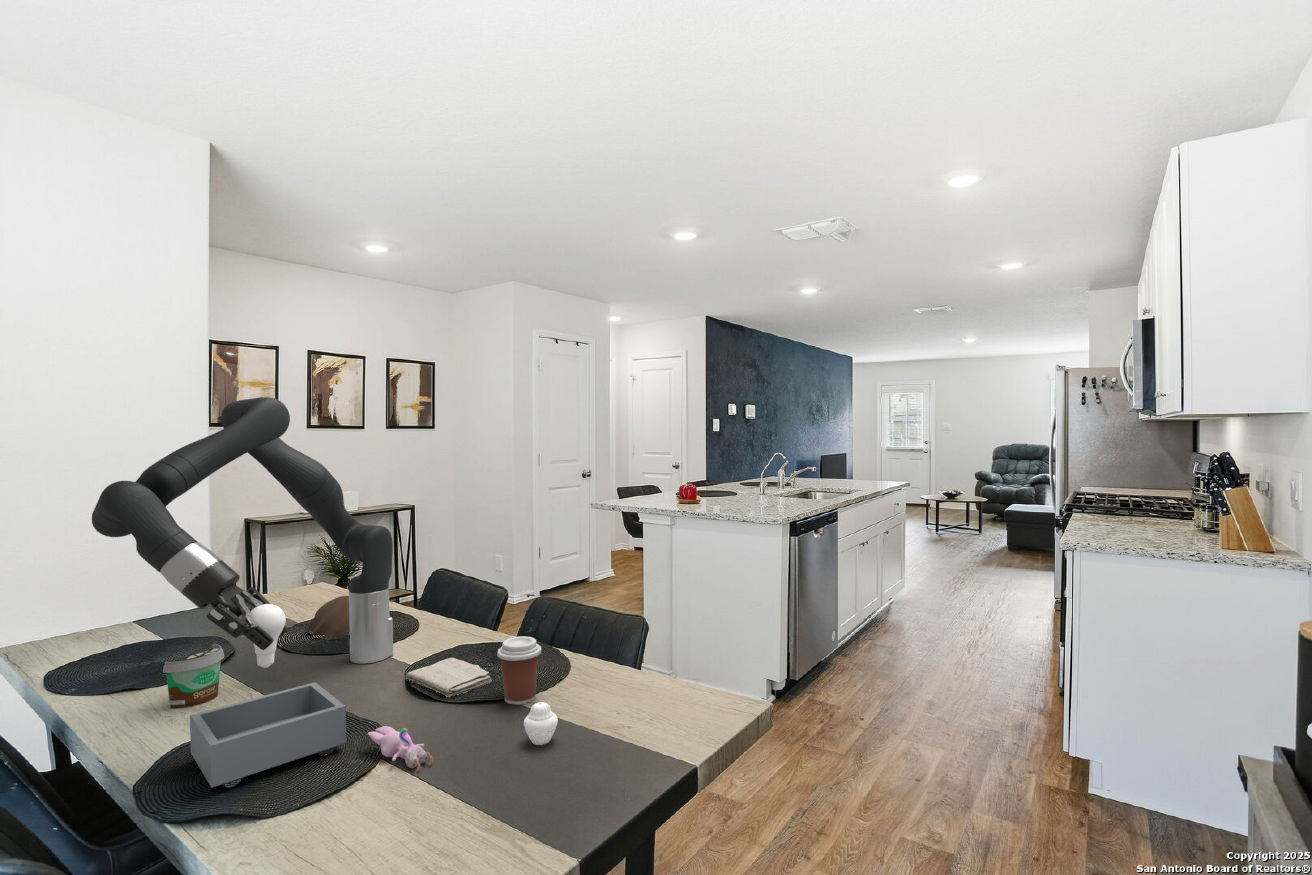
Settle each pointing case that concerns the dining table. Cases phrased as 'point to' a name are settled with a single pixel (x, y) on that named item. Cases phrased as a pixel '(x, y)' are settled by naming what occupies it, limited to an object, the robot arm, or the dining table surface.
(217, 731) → the grey open box
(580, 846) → the dining table surface
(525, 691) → the coffee cup
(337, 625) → the decorative dome
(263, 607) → the lightbulb
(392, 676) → the dining table surface
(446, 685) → the washcloth
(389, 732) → the pink toy animal
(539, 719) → the white lidded jar
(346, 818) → the dining table surface
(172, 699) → the food container
